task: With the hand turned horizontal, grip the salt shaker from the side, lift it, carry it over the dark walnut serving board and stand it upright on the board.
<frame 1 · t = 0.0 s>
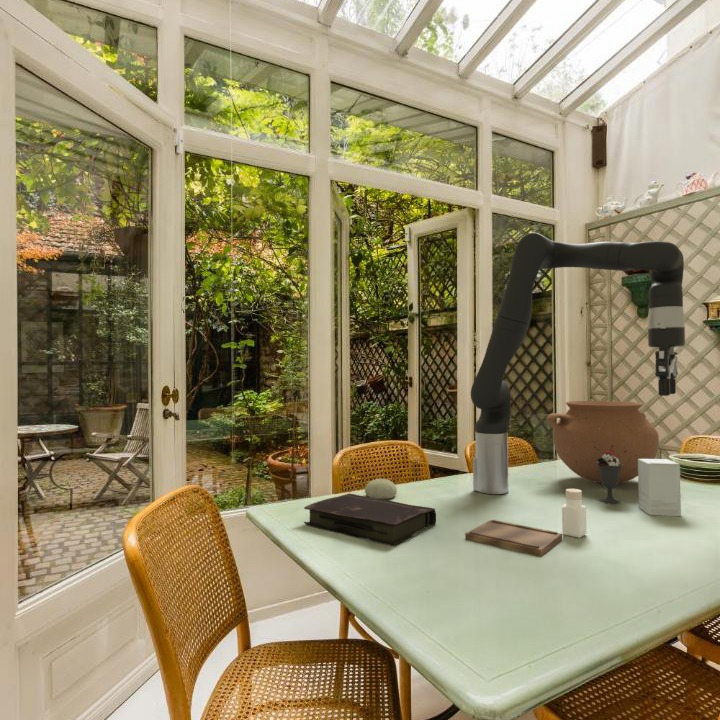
hand: (667, 394, 121), 29 cm above the table, tool pointing down, fingers open, 8 cm apart
sundae: (610, 502, 136), on the table
clay pot: (604, 483, 158), on the table
diary: (369, 528, 117), on the table
walnut board: (513, 539, 106), on the table
salt shaker: (574, 535, 109), on the table
supplement box: (659, 512, 126), on the table
sea urchin shell: (381, 497, 143), on the table
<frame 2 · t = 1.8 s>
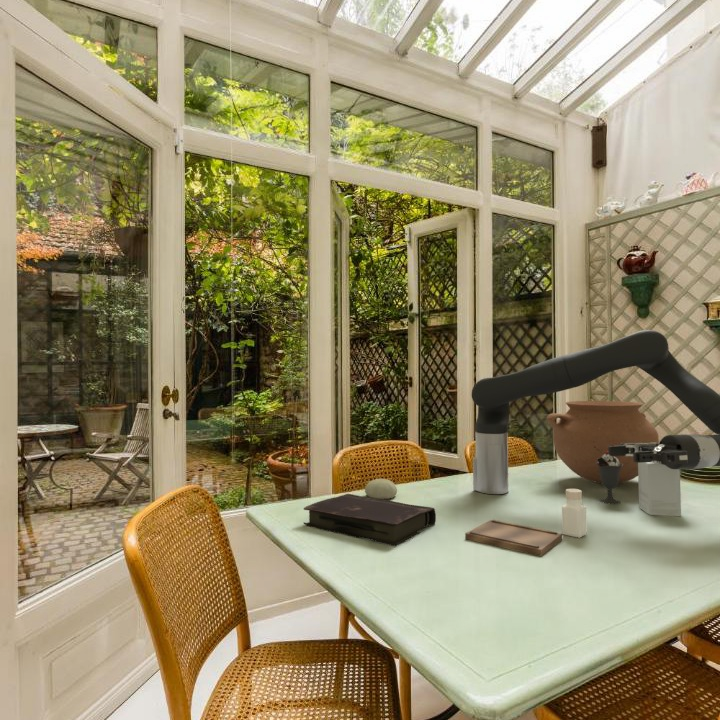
hand: (621, 454, 110), 17 cm above the table, tool horizontal, fingers open, 8 cm apart
nothing on the table moved.
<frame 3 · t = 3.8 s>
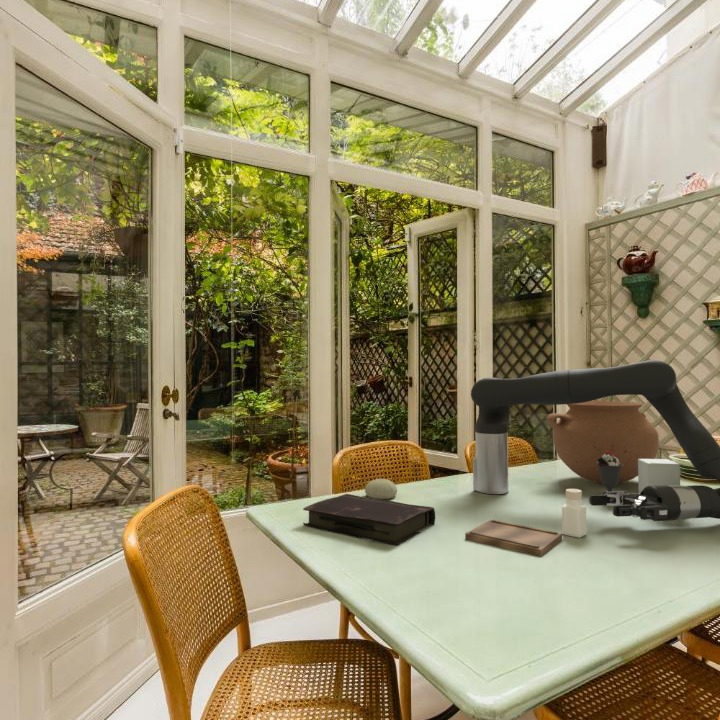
hand: (601, 505, 110), 6 cm above the table, tool horizontal, fingers open, 8 cm apart
nothing on the table moved.
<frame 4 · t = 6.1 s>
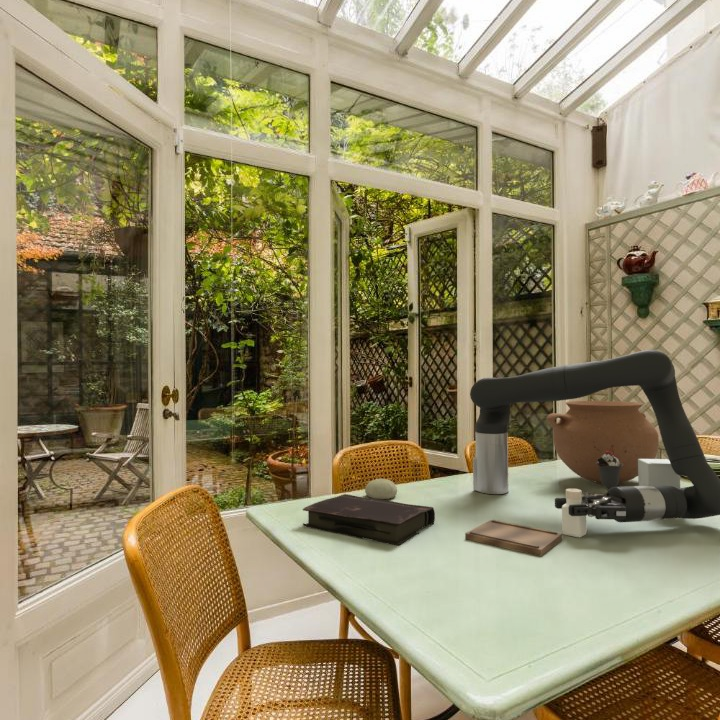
hand: (562, 506, 109), 6 cm above the table, tool horizontal, fingers closed on salt shaker, 5 cm apart
salt shaker: (574, 535, 109), on the table, touching gripper
everything else where it was.
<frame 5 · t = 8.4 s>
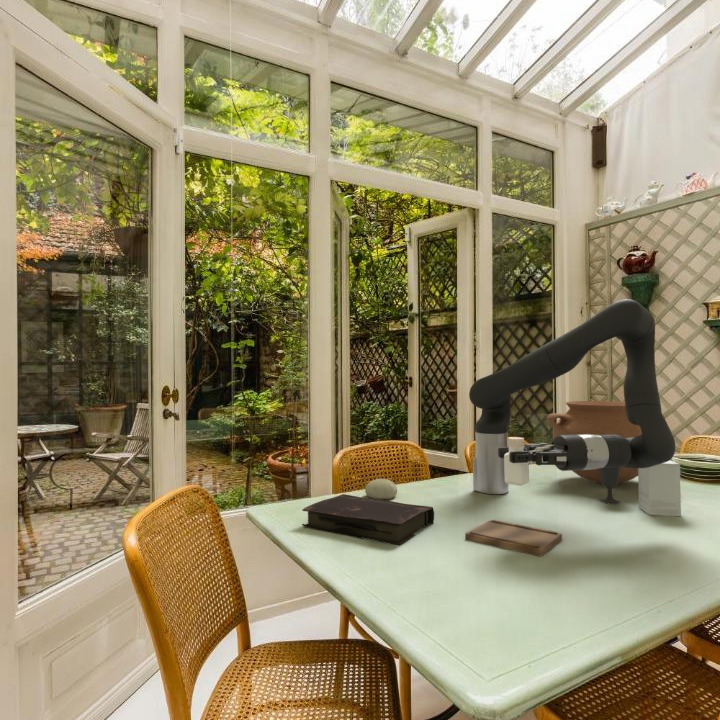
hand: (504, 455, 106), 18 cm above the table, tool horizontal, fingers closed on salt shaker, 5 cm apart
salt shaker: (517, 484, 106), point 11 cm above the table, touching gripper
everything else where it was.
when the fingers open (8 cm above the table, at t = 11.2 s): salt shaker stays where it is, resting on walnut board.
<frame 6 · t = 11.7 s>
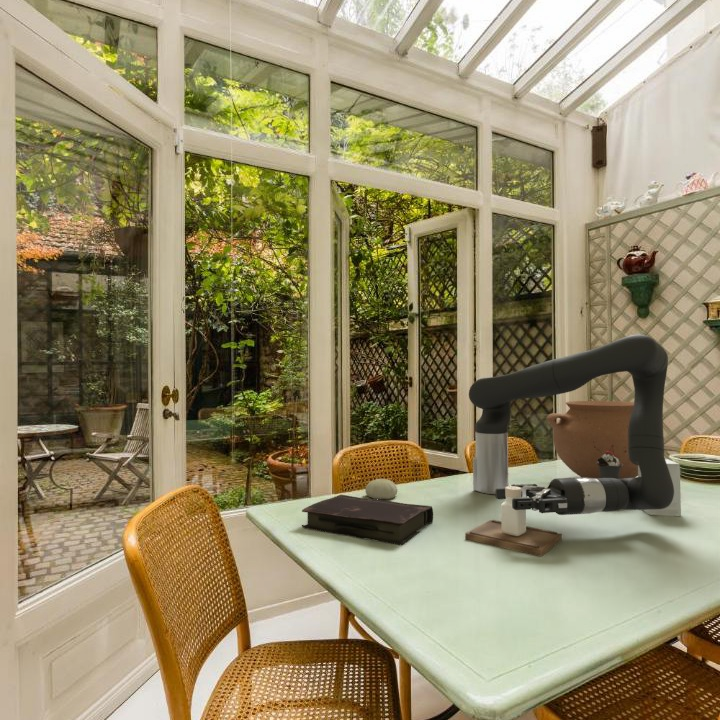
hand: (504, 498, 106), 9 cm above the table, tool horizontal, fingers open, 8 cm apart
salt shaker: (513, 534, 106), point 1 cm above the table, touching walnut board
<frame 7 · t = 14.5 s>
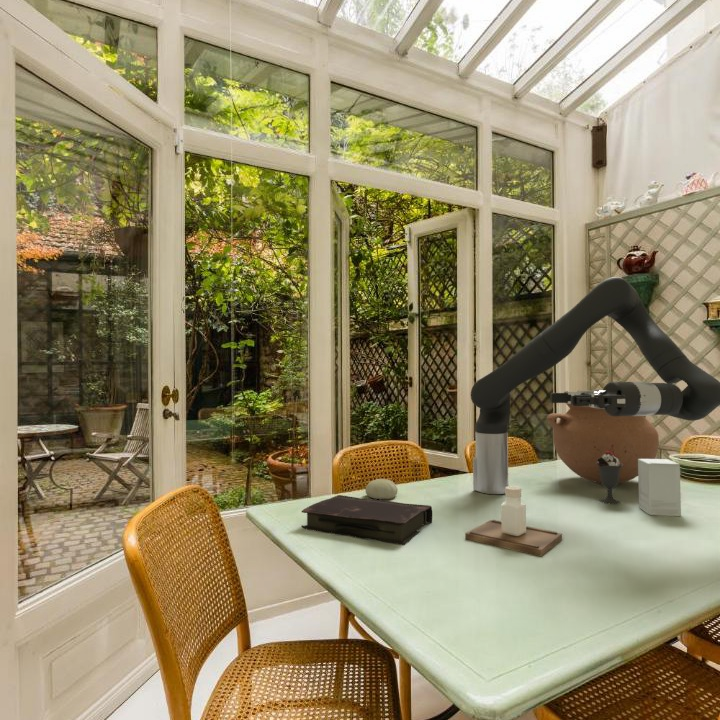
hand: (560, 399, 108), 29 cm above the table, tool horizontal, fingers open, 8 cm apart
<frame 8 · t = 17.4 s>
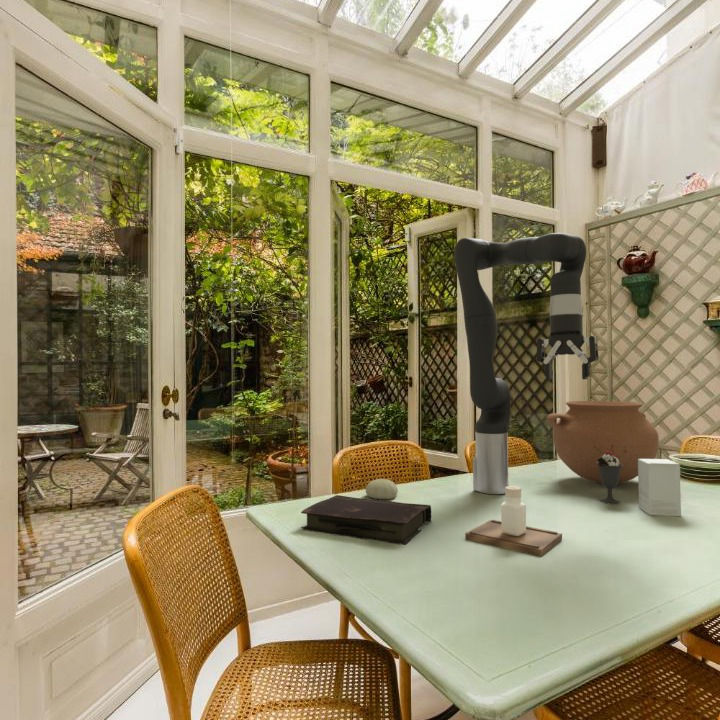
hand: (567, 379, 126), 33 cm above the table, tool pointing down, fingers open, 8 cm apart
at the end: salt shaker inside the target area on the walnut board (0.2 cm from its centre), point 1.0 cm above the walnut board's base; salt shaker tilted 0°; the gripper is holding nothing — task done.
